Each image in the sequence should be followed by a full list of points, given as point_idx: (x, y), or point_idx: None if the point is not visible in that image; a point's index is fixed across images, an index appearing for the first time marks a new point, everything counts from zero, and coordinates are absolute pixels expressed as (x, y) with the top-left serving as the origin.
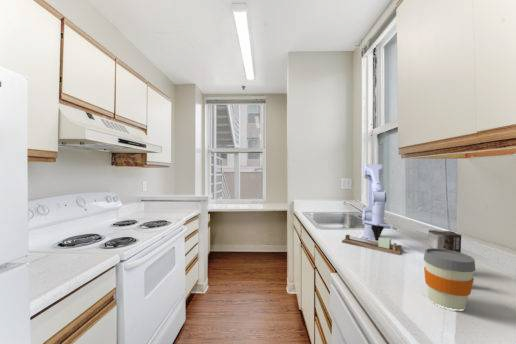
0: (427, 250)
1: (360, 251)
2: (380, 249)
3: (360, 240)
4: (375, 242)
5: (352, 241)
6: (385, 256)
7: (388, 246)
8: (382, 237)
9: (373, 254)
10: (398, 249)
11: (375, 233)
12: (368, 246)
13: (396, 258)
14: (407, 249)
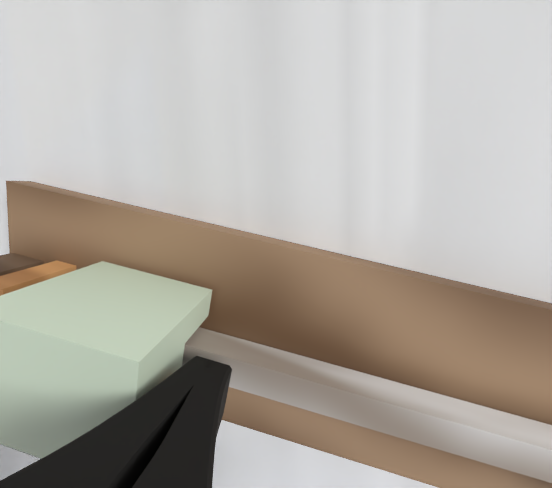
0: None
1: (427, 30)
2: (190, 222)
3: (442, 401)
4: (237, 353)
5: (546, 376)
6: (131, 26)
7: (87, 270)
8: (87, 416)
9: (258, 8)
10: (12, 261)
11: (158, 481)
12: (325, 256)
13: (33, 33)
14: None
